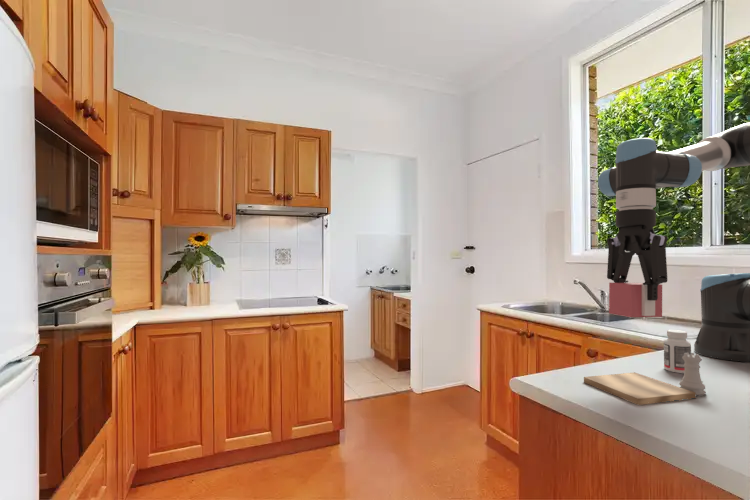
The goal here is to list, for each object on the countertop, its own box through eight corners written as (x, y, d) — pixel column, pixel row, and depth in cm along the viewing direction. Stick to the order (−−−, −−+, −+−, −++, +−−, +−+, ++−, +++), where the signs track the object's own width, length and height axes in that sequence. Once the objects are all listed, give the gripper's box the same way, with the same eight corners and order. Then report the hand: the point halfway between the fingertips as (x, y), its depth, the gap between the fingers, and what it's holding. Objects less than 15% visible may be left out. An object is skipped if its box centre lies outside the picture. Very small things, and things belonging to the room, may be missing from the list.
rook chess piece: (711, 396, 80) (710, 357, 80) (686, 395, 81) (685, 356, 81) (698, 389, 85) (697, 352, 85) (674, 388, 86) (673, 351, 86)
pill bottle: (694, 371, 98) (694, 331, 98) (687, 375, 95) (686, 334, 95) (668, 366, 102) (668, 328, 102) (660, 370, 99) (660, 330, 99)
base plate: (634, 377, 93) (634, 372, 93) (695, 398, 79) (695, 392, 79) (583, 382, 90) (583, 376, 90) (638, 405, 76) (638, 398, 76)
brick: (638, 312, 92) (638, 282, 92) (662, 316, 86) (662, 284, 86) (609, 313, 90) (609, 282, 91) (631, 317, 85) (631, 284, 85)
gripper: (589, 213, 97) (589, 308, 97) (660, 203, 79) (660, 320, 78) (615, 214, 99) (615, 307, 98) (690, 205, 80) (690, 319, 80)
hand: (635, 313), depth 88 cm, fingers closed on brick, 6 cm apart
